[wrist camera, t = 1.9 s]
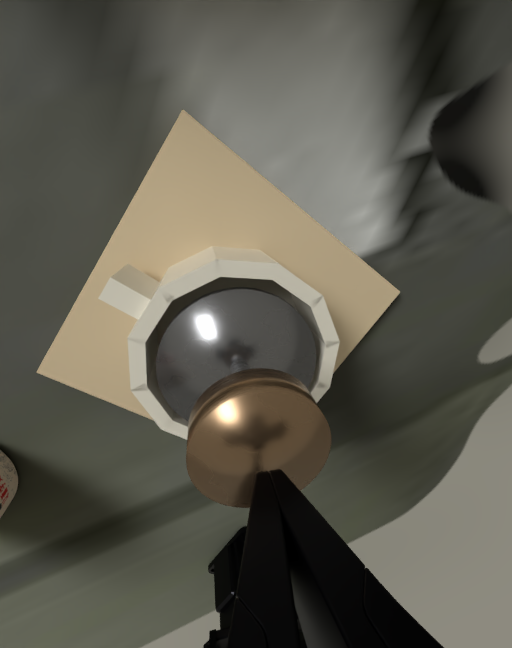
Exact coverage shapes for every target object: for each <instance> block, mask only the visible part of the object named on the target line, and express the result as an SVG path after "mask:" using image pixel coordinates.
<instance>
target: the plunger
mask: <svg viewBox="0 0 512 648" xmlns="http://www.w3.org/2000/svg"><path fill="white" fill-rule="evenodd" d="M315 365H316V347H315V341H314V338H313V335H312V332H311V330H310V328H309V326H308V324H307V323H306V321H305V320H304V318H303V317H302V316H301V315H300V314H299V313H298V312H297V311H296V309H295V308H294V307H293V306H292V305H290V304H289V303H288V302H287V301H285V300H284V299H282V298H280V297H279V296H277V295H275V294H272V293H270V292H268V291H264V290H261V289H257V288H249V287H231V288H224V289H220V290H216V291H212V292H210V293H207V294H205V295H203V296H200V297H199V298H197V299H195V300H193V301H192V302H190V303H189V304H188V305H186V306H185V307H184V308H183V309H182V310H181V311H180V312H179V313H178V314H177V315H176V316H175V317H174V318H173V319H172V321H171V322H170V323H169V325H168V327H167V328H166V330H165V332H164V334H163V336H162V339H161V342H160V345H159V348H158V353H157V358H156V375H157V381H158V384H159V388H160V390H161V392H162V395H163V397H164V398H165V400H166V401H167V403H168V404H169V405H170V407H171V408H172V409H173V410H174V411H175V412H176V413H177V414H178V415H180V416H181V417H182V418H184V419H185V420H187V421H188V435H187V455H186V463H187V470H188V474H189V476H190V479H191V481H192V482H193V484H194V485H195V487H196V488H197V489H198V490H199V491H200V492H201V493H202V494H204V495H205V496H206V497H208V498H209V499H211V500H213V501H215V502H218V503H220V504H223V505H227V506H232V507H242V508H249V507H250V506H251V500H252V493H253V487H254V481H255V475H256V473H258V472H264V471H268V472H269V471H270V470H276V469H281V470H282V471H283V472H284V473H285V474H286V475H287V476H288V478H289V479H290V480H291V481H292V482H293V483H294V484H295V486H296V487H297V488H298V489H299V490H302V489H303V488H304V487H306V486H307V485H308V484H309V483H310V482H311V481H312V480H313V479H314V478H315V477H316V476H317V475H318V473H319V472H320V471H321V469H322V468H323V466H324V465H325V462H326V460H327V458H328V455H329V452H330V448H331V432H330V428H329V425H328V422H327V420H326V418H325V417H324V415H323V413H322V412H321V410H320V408H319V407H318V405H317V403H316V402H315V400H314V398H313V397H312V395H311V393H310V392H309V390H308V387H309V385H310V383H311V380H312V378H313V374H314V370H315Z"/></svg>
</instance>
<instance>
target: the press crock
mask: <svg viewBox="0 0 512 648" xmlns="http://www.w3.org/2000/svg"><path fill="white" fill-rule="evenodd" d="M231 287H249V288H257V289H261V290H264V291H268V292H270V293H272V294H275V295H277V296H279V297H280V298H282V299H284V300H285V301H287V302H288V303H289V304H290V305H292V306H293V307H294V308H295V309H296V311H297V312H298V313H299V314H300V315H301V316H302V317H303V318H304V320H305V321H306V323H307V324H308V326H309V328H310V330H311V332H312V335H313V338H314V341H315V347H316V365H315V370H314V374H313V378H312V380H311V383H310V385H309V387H308V390H309V392H310V393H311V395H312V397H313V398H314V400H315V402H316V403H317V402H318V401H319V400H320V399H321V397H322V396H323V395H324V394H325V393H326V391H327V390H328V389H329V388H330V385H331V380H332V375H333V373H334V372H335V371H336V369H337V368H338V367H339V366H340V364H341V363H342V362H343V361H344V360H345V358H346V357H347V356H348V355H349V354H350V352H351V351H352V350H353V349H354V348H355V346H356V345H357V344H358V343H359V342H360V340H361V339H362V338H363V337H364V335H365V334H366V333H367V332H368V331H369V329H370V328H371V327H372V326H373V325H374V323H375V322H376V321H377V320H378V319H379V317H380V316H381V315H382V314H383V313H384V311H385V310H386V309H387V308H388V306H389V305H390V304H391V303H392V302H393V300H394V299H395V298H396V297H397V296H398V294H399V293H400V291H399V290H397V289H396V288H395V287H394V286H393V285H391V284H390V283H389V282H388V281H387V280H385V279H384V278H383V277H382V276H381V275H380V274H378V273H377V272H376V271H375V270H374V269H372V268H371V267H370V266H369V265H368V264H366V263H365V262H364V261H363V260H362V259H360V258H359V257H358V256H357V255H356V254H355V253H353V252H352V251H351V250H350V249H349V248H347V247H346V246H345V245H344V244H343V243H341V242H340V241H339V240H338V239H337V238H335V237H334V236H333V235H332V234H331V233H330V232H328V231H327V230H326V229H325V228H324V227H322V226H321V225H320V224H319V223H318V222H316V221H315V220H314V219H313V218H312V217H310V216H309V215H308V214H307V213H306V212H305V211H303V210H302V209H301V208H300V207H299V206H297V205H296V204H295V203H294V202H293V201H291V200H290V199H289V198H288V197H287V196H285V195H284V194H283V193H282V192H281V191H280V190H278V189H277V188H276V187H275V186H274V185H272V184H271V183H270V182H269V181H268V180H266V179H265V178H264V177H263V176H262V175H260V174H259V173H258V172H257V171H256V170H254V169H253V168H252V167H251V166H250V165H249V164H247V163H246V162H245V161H244V160H243V159H241V158H240V157H239V156H238V155H237V154H235V153H234V152H233V151H232V150H231V149H229V148H228V147H227V146H226V145H225V144H224V143H222V142H221V141H220V140H219V139H218V138H216V137H215V136H214V135H213V134H212V133H210V132H209V131H208V130H207V129H206V128H204V127H203V126H202V125H201V124H200V123H199V122H197V121H196V120H195V119H194V118H193V117H191V116H190V115H189V114H188V113H187V112H185V111H184V110H182V112H181V113H180V115H179V117H178V119H177V121H176V122H175V124H174V126H173V128H172V130H171V131H170V133H169V135H168V137H167V139H166V140H165V142H164V144H163V146H162V148H161V149H160V151H159V153H158V155H157V156H156V158H155V160H154V162H153V164H152V165H151V167H150V169H149V171H148V173H147V174H146V176H145V178H144V180H143V182H142V183H141V185H140V187H139V189H138V191H137V192H136V194H135V196H134V198H133V200H132V201H131V203H130V205H129V207H128V209H127V210H126V212H125V214H124V216H123V218H122V219H121V221H120V223H119V225H118V227H117V228H116V230H115V232H114V234H113V236H112V237H111V239H110V241H109V243H108V245H107V246H106V248H105V250H104V252H103V253H102V255H101V257H100V259H99V261H98V262H97V264H96V266H95V268H94V270H93V271H92V273H91V275H90V277H89V279H88V280H87V282H86V284H85V286H84V288H83V289H82V291H81V293H80V295H79V297H78V298H77V300H76V302H75V304H74V306H73V307H72V309H71V311H70V313H69V315H68V316H67V318H66V320H65V322H64V324H63V325H62V327H61V329H60V331H59V333H58V334H57V336H56V338H55V340H54V342H53V343H52V345H51V347H50V349H49V350H48V352H47V354H46V356H45V358H44V359H43V361H42V363H41V365H40V367H39V368H38V370H37V373H39V374H42V375H44V376H47V377H49V378H51V379H54V380H56V381H59V382H61V383H64V384H66V385H69V386H71V387H73V388H76V389H78V390H81V391H83V392H86V393H88V394H91V395H93V396H95V397H98V398H100V399H103V400H105V401H108V402H110V403H113V404H115V405H118V406H120V407H122V408H125V409H127V410H130V411H132V412H135V413H137V414H140V415H142V416H144V417H147V418H149V419H152V420H154V421H155V422H156V423H157V425H158V426H159V427H160V428H161V430H164V431H166V432H169V433H171V434H174V435H176V436H179V437H181V438H184V439H186V440H187V435H188V421H187V420H185V419H184V418H182V417H181V416H180V415H178V414H177V413H176V412H175V411H174V410H173V409H172V408H171V407H170V405H169V404H168V403H167V401H166V400H165V398H164V397H163V395H162V392H161V390H160V388H159V384H158V381H157V375H156V358H157V353H158V348H159V345H160V342H161V339H162V336H163V334H164V332H165V330H166V328H167V327H168V325H169V323H170V322H171V321H172V319H173V318H174V317H175V316H176V315H177V314H178V313H179V312H180V311H181V310H182V309H183V308H184V307H185V306H186V305H188V304H189V303H190V302H192V301H193V300H195V299H197V298H199V297H200V296H203V295H205V294H207V293H210V292H212V291H216V290H220V289H224V288H231Z"/></svg>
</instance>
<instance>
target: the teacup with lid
mask: <svg viewBox="0 0 512 648" xmlns="http://www.w3.org/2000/svg"><path fill="white" fill-rule="evenodd" d="M17 487H18V475H17V472H16V469H15V467H14V465H13V463H12V462H11V460H10V459H9V458H8V457H7V456H6V455H5V454H4V453H3V452H2V451H1V450H0V518H1V516H2V515H3V513H4V512H5V510H6V509H7V507H8V506H9V504H10V502H11V501H12V499H13V498H14V496H15V493H16V491H17Z"/></svg>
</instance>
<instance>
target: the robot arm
mask: <svg viewBox="0 0 512 648" xmlns="http://www.w3.org/2000/svg"><path fill="white" fill-rule="evenodd" d="M208 572H209V573H211V574H214V581H215V606H216V611H217V612H218V613H220V628H221V630H217V631H216V629H215V630H212V631H210V638H209V641H208V642H207V643H206V644H204V648H444V647H443V646H441V644H440V643H438V642H437V641H436V640H435V639H434V638H433V637H432V636H431V635H430V634H429V633H428V632H427V631H426V630H425V629H424V628H423V627H422V626H421V625H420V624H419V623H418V622H417V621H416V620H415V619H414V618H413V617H412V616H411V615H410V614H409V613H408V612H407V611H406V610H405V609H404V608H403V607H402V606H401V605H400V604H399V603H398V602H397V601H396V600H395V599H394V598H393V597H392V595H391V594H390V593H389V592H388V591H387V590H386V589H385V588H384V587H383V585H382V584H380V582H379V581H378V580H377V579H376V578H375V576H374V575H373V574H372V573H371V572H370V571H369V569H368V568H365V565H364V564H363V563H362V562H361V561H360V559H359V558H358V557H357V556H356V555H355V554H354V553H353V551H352V550H351V549H350V548H349V547H348V545H347V544H346V543H345V542H344V541H343V540H342V539H341V537H340V536H339V535H338V534H337V533H336V532H335V530H334V529H333V528H332V527H331V526H330V525H329V524H328V522H327V521H326V520H325V519H324V518H323V517H322V515H321V514H320V513H319V512H318V511H317V510H316V509H315V507H314V506H313V505H312V504H311V503H310V502H309V501H308V499H307V498H306V497H305V496H304V495H303V494H302V492H301V491H300V490H299V489H298V488H297V487H296V486H295V484H294V483H293V482H292V481H291V480H290V479H289V478H288V476H287V475H286V474H285V473H284V472H283V471H282V470H281V469H276V470H270V471H269V472H268V471H264V472H258V473H256V475H255V481H254V487H253V493H252V500H251V506H250V512H249V518H248V524H247V528H246V527H244V528H241V529H240V530H239V531H238V532H237V533H236V534H235V535H234V537H233V538H232V539H231V540H230V541H229V542H228V544H227V545H226V546H225V547H224V548H223V549H222V550H221V552H220V553H219V554H218V555H217V556H216V557H215V559H214V560H213V561H212V562H211V563H210V564H209V566H208Z"/></svg>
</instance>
